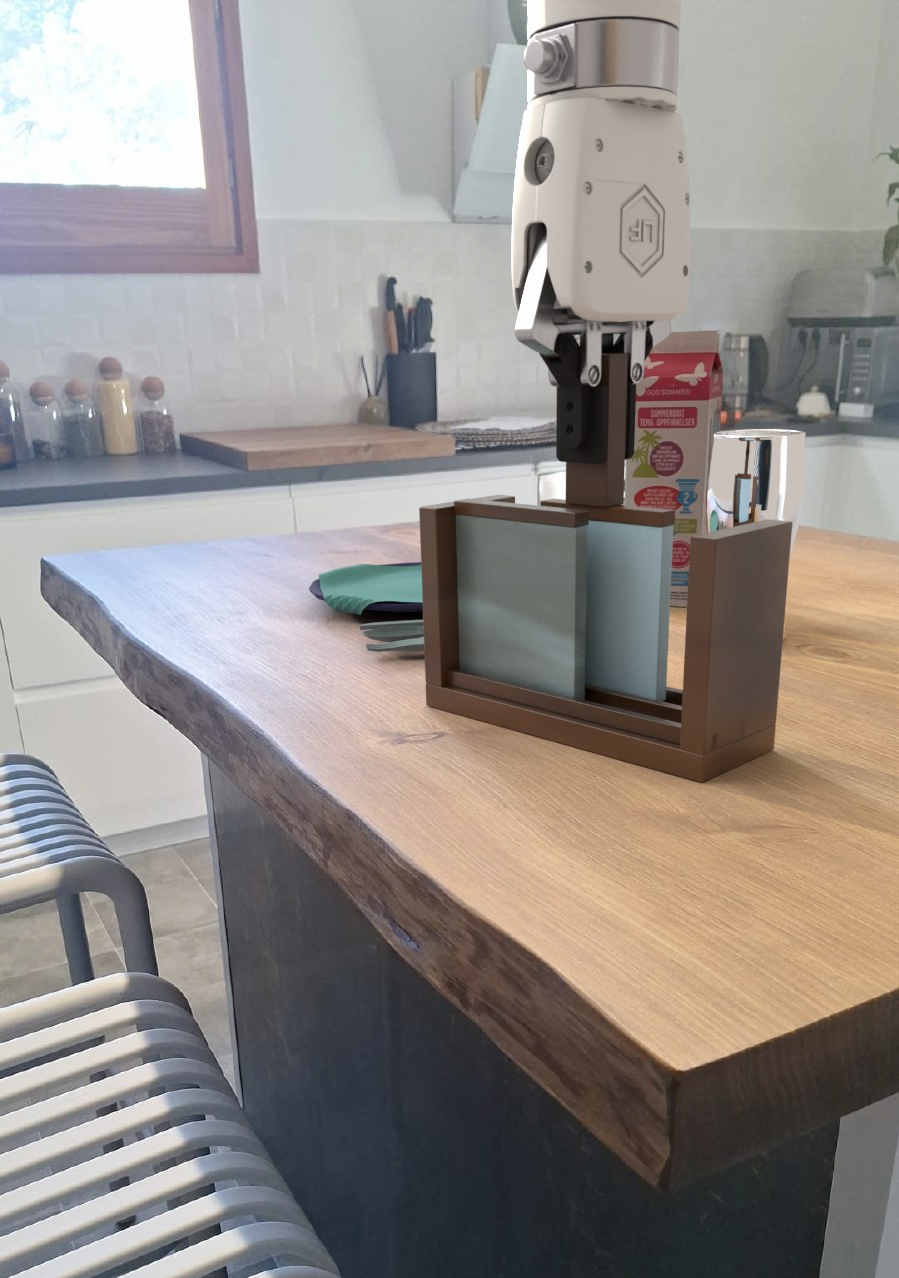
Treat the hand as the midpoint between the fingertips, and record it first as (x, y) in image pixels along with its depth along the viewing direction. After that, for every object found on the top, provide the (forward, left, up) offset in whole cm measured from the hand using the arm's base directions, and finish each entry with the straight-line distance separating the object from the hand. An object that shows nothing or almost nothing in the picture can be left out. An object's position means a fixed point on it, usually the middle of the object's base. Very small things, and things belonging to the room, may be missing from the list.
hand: (595, 457), depth 64 cm
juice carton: (-32, -17, -16) cm, 39 cm away
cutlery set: (-14, -29, -16) cm, 36 cm away
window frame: (+1, +1, -15) cm, 15 cm away
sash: (0, +1, -13) cm, 13 cm away
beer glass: (-24, -4, -16) cm, 29 cm away
